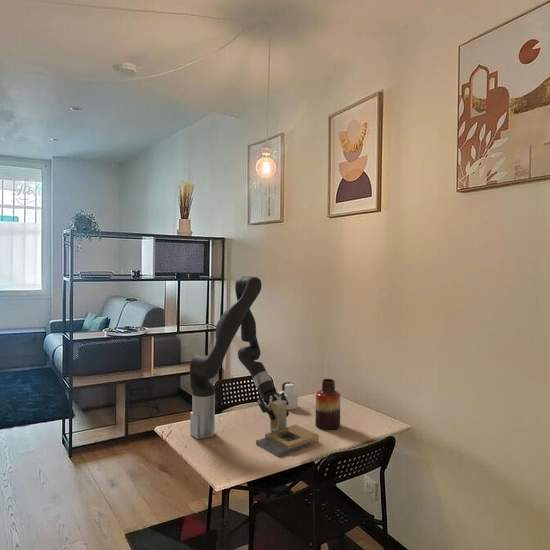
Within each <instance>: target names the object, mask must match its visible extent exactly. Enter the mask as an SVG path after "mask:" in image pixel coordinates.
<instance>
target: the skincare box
mask: <svg viewBox="0 0 550 550" xmlns="http://www.w3.org/2000/svg"><path fill="white" fill-rule="evenodd" d="M286 403H287V402H286V401H284V400H280V399H278V400H276V401H274V402H271V403H270V407H271V411H273V413H274V415H275V417H276V419H275V420H274V421H272V420H271V419H270V418H269V419H270V420H269V421H270V422H269V423H270V428H269V429H270V432H273V431H277V430H280V429H283V428H286V427H287V425H288V424H287V417H286V412H287V411H286V410H287V405H286Z"/></svg>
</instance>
